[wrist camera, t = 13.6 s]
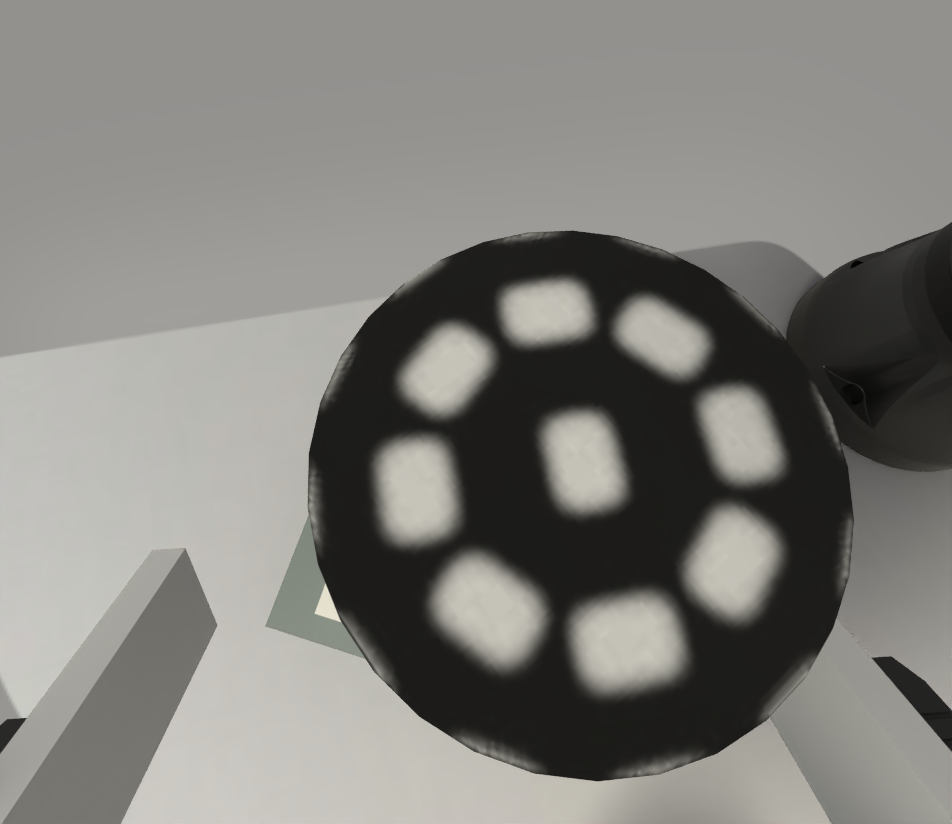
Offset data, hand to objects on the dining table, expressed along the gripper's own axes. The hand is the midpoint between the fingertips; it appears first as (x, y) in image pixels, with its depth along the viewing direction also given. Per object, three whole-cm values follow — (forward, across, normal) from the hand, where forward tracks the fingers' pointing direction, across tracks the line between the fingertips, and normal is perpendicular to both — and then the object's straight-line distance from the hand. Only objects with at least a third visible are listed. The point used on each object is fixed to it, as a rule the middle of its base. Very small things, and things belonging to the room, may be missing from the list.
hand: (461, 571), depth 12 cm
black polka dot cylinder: (+12, +2, -9) cm, 15 cm away
